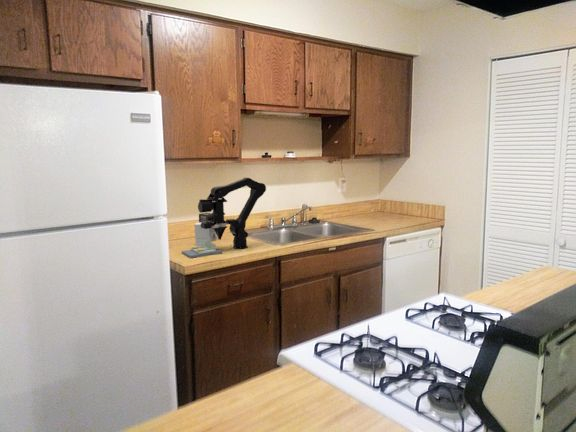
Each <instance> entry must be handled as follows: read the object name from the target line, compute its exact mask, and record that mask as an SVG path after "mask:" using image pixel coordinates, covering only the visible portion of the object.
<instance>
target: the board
mask: <svg viewBox="0 0 576 432" xmlns="http://www.w3.org/2000/svg"><path fill="white" fill-rule="evenodd" d="M198 247H199V246H196V245H191V248H194V249H197V251H199V252H201V251H203V248H198ZM220 254H223V250H220V249H219V248H216V252H209V253H203V254H198V253H196V252H194V251H192V250H191V249H189V250H188V249H187V250H181V255H184V256H186V257H187V258H188V259H193V258H194V259H195V258H201V257H207V256H213V255H214V256H215V255H220Z"/></svg>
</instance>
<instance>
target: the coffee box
mask: <svg viewBox="0 0 576 432" xmlns="http://www.w3.org/2000/svg"><path fill="white" fill-rule="evenodd" d="M212 213H213V212H202V213H199V214H198V222H209V221H206V215H210V216H212ZM212 223H213V222H212ZM209 236H210V242H212V241H217V234H216V232H215V230H214V229H213V228H209Z"/></svg>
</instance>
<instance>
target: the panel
mask: <svg viewBox="0 0 576 432" xmlns="http://www.w3.org/2000/svg"><path fill="white" fill-rule="evenodd" d="M198 248H203V251H201V252H199V251H197V249H194V248H192V247H190V250H192V251H194V252H196V253H198V254H203V253H209V252H216V249H217V248H216V243H214V242H212V241H210V242H209V241H207V240H204V246H198Z"/></svg>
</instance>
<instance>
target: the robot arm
mask: <svg viewBox="0 0 576 432" xmlns="http://www.w3.org/2000/svg"><path fill="white" fill-rule="evenodd" d="M244 187H248V188H249V189H250V192H249V197H248V199H247V201H246V202H245V204H244V206H243V207H242V210H241V211H240V214H239V215H238V217H237V218H229V219H228V218H227V219H226V220H225V215H226V212H225V209H224V208H225V207H224V206H225V205H224V203H227V202H228V200H227V199H226V198H225V197H226V196H227V195H228V194H230V193H232V192H234V191H236V190H239V189H241V188H244ZM266 191H267V186H266V184H265V183H263V182H258V181H255V180H253V179H252V178H250V177H243V178H241V179H239V180H237V181H234V182H231V183H228V184H226V185H225V184H224V185H221V186H219V185H218V186H214V187H212V188H211V189H210V193H209V195H208V196H207V198H206V199H199V202H198V204H197V208H198V209H197V210H198V212H199V214H201V213H212V216H210V215H206V221H209V222H202V223H201V228H204V229H209V228H213V229H214V230H215V232H216V238H217V239H218V240H220V241H221V239H222V237H223V234H224V232H225V230H226V229H227V228H228V226H227V225H229V229H228V230H229V232H230V233H231V234H232V237H233V239H232V240H233V241H232V243H233V245H232V248H234V249H237V250H240V249H247V248H249V246H248V244H247V243H248V242H247V238H248V236H249V232H247V231H246V230H245V228H246V224H247V223H246V222H247V220H248V218H249V216H250V214H251V213H252V211H253V209H254V207H255V205H256V203H257V202H258V199H261V197H262V196H263V195H264V194H265V192H266ZM212 222H213V223H212Z"/></svg>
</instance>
